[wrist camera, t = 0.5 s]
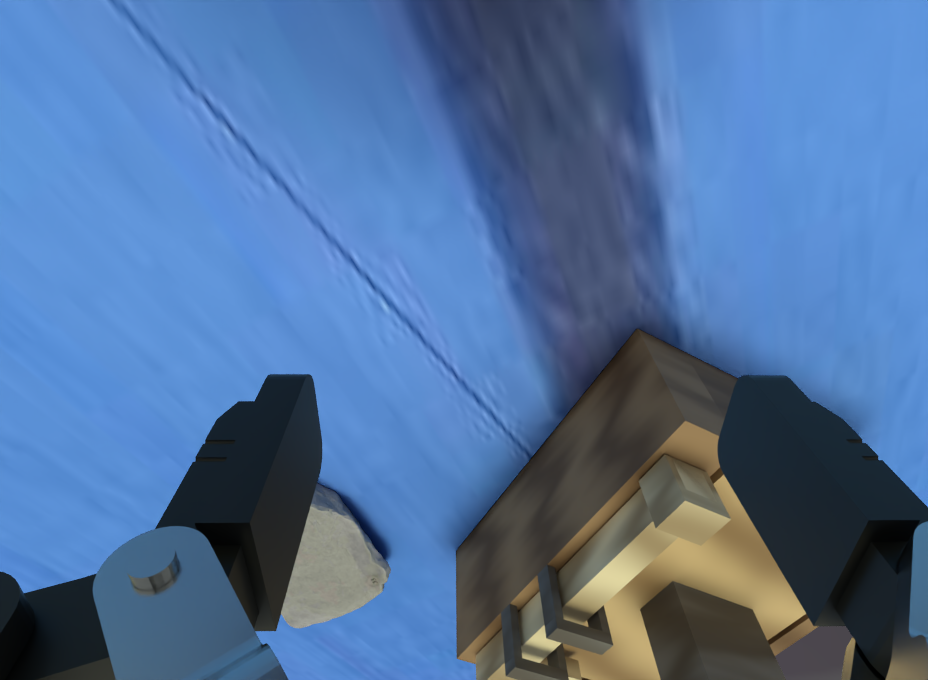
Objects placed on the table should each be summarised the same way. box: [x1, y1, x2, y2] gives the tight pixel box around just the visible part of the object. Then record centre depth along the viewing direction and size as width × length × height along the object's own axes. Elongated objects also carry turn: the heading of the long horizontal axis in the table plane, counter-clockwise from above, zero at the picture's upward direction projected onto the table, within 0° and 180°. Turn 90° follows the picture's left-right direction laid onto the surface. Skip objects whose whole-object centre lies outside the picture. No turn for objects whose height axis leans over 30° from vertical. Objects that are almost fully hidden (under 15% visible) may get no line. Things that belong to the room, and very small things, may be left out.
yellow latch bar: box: [476, 455, 731, 680], centre depth 31 cm, size 19×6×3 cm, turn 152°
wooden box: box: [456, 329, 818, 680], centre depth 35 cm, size 22×18×12 cm
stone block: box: [281, 483, 391, 628], centre depth 41 cm, size 12×5×10 cm
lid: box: [563, 467, 806, 680], centre depth 31 cm, size 19×12×8 cm, turn 152°
